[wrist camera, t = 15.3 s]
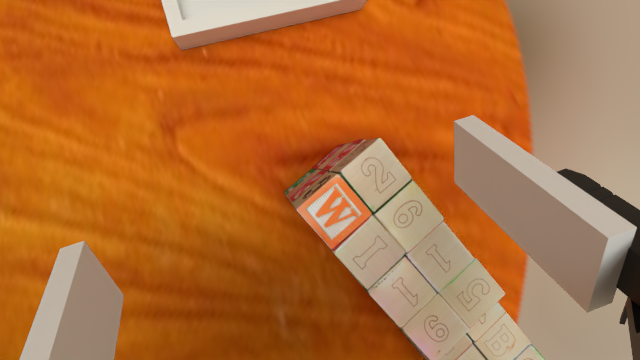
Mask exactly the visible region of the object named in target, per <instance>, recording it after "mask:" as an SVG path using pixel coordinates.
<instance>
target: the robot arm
mask: <svg viewBox="0 0 640 360" xmlns="http://www.w3.org/2000/svg"><path fill="white" fill-rule="evenodd" d="M454 176H455V183H456V184H457V185H458V186H459V187H460V188H461V189H462V190H463V191H464V192H465V193H466V194H467V195H468V196H469V197H470V198H471V199H472V200H473V201H474V202H475V203H476V204H477V205H478V206H479V207H480V208H481V209H482V210H483V211H484V212H485V213H486V214H487V215H488V216H489V217H490V218H491V219H492V220H493V221H494V222H495V223H496V224H497V225H498V226H499V227H501V228H502V229H503V230H504V231H505V232H506V233H507V234H508V235H509V236H510V237H511V238H512V239H513V240H514V241H515V242H516V243H517V244H518V245H519V246H520V247H521V248H522V249H523V250H524V251H525V252H526V253H527V254H528V255H529V256H530V257H531V258H532V259H533V260H534V261H535V262H536V263H537V264H538V265H539V266H540V267H541V268H543V270H544V271H545V272H546V273H547V274H548V275H549V276H550V277H552V278H553V279H554V280H555V281H556V282H557V283H558V284H559V285H560V286H561V287H562V288H563V289H564V290H565V291H566V292H567V293H568V294H569V295H570V296H571V297H572V298H573V299H574V300H575V301H576V302H577V303H578V304H579V305H580V306H581V307H582V308H583V309H584V310H585V311H586V312H590V311H592V310H594V309H597V308H600V307H602V306H605V305H607V304H610V303H612V301H613V298H614V295H615V292H616V289H617V288H618V289H619V290H621V291H622V292H623V293H624V294H626V295H627V296H628V298H627V301H626V304H625V307H624V309H623V312H622V315H621V318H620V324H625V322H626V319H627V318H628V325H629V332H630V340H631V347H632V355H633V360H640V210H639V209H637V208H635V207H634V206H632V205H631V204H629V203H628V202H626V201H625V200H623V199H622V198H620V197H618V196H617V195H613V193H612V192H611V191H609V190H608V189H606V188H604V187H601V186H600V184H598V183H597V182H595V181H594V180H592V179H590V178H589V177H587V176H586V175H584V174H581V173H578V172H574V171H572V170H568V169H564V170H561V171H558V172H556V171H554V170H553V169H551V168H550V167H548V166H547V165H545V164H544V163H542V162H541V161H540V160H538V159H537V158H535V157H534V156H532V155H531V154H529V153H528V152H526V151H525V150H523V149H522V148H521V147H519V146H518V145H516V144H515V143H513V142H512V141H510V140H509V139H507V138H506V137H505V136H503V135H502V134H500V133H499V132H497V131H496V130H494V129H493V128H491V127H490V126H489V125H487V124H486V123H484V122H483V121H481V120H480V119H478V118H477V117H475V116H474V115H472V116H469V117H466V118H463V119H460V120H457V121H454ZM123 298H124V295H123V294H122V292H121V291H120V289H119V288H118V287H117V285H116V284H115V282H114V281H113V280H112V278H111V277H110V276H109V274H108V273H107V271H106V270H105V269H104V267H103V266H102V264H101V263H100V262H99V260H98V259H97V258H96V256H95V255H94V253H93V252H92V251H91V249H90V248H89V246H88V245H87V244H86V242H85V241H82V242H79V243H76V244H73V245H70V246H67V247H64V248H61V249H60V251H59V253H58V256H57V259H56V261H55V264H54V267H53V270H52V272H51V275H50V278H49V281H48V283H47V286H46V289H45V291H44V294H43V297H42V300H41V302H40V305H39V308H38V311H37V313H36V316H35V319H34V322H33V324H32V327H31V330H30V332H29V335H28V338H27V341H26V343H25V346H24V349H23V352H22V354H21V357H20V360H114V357H115V350H116V344H117V337H118V331H119V324H120V318H121V311H122V305H123Z"/></svg>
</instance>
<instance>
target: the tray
mask: <svg viewBox="0 0 640 360" xmlns="http://www.w3.org/2000/svg"><path fill="white" fill-rule="evenodd" d="M161 1H162V4H163V8H164V11H165V15H166V18H167V21H168V25H169V28H170V32H171V35H172V38H173V39H174V41H175V42H176V44H177V45H178V47H179V48H180V50H185V49H190V48H194V47H199V46H203V45H207V44H212V43H216V42H221V41H225V40H229V39H234V38H238V37H243V36H247V35H251V34H256V33H260V32H265V31H269V30H273V29H278V28H282V27H287V26H291V25H295V24H300V23H304V22H309V21H313V20H317V19H322V18H326V17H331V16H335V15H339V14H344V13H348V12H353V11H357V10H361V9H362V7H363V6H364V4H365V3H366V2H367V0H161Z"/></svg>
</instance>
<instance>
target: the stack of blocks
mask: <svg viewBox="0 0 640 360" xmlns="http://www.w3.org/2000/svg"><path fill="white" fill-rule="evenodd" d="M285 195H286V196H287V198H288V199H289V200H290V202H291V203H292V204H293V206H294V207H295V209H296V210H297V211H298V213H299V214H300V215H301V216H302V217H303V218H304V219H305V221H306V222H307V223H308V224H309V225H310V226H311V227H312V228H313V229H314V231H315V232H316V233H317V234H318V235H319V236H320V238H321V239H322V240H323V241H324V242H325V243H326V244H327V246H328V247H329V248H330V250H331V251H332V252H333V253H334V254H335V255H336V257H337V258H338V259H339V260H340V261H341V262H342V263H343V264H344V265H345V266H346V268H347V269H348V270H349V271H350V273H351V274H352V275H353V276H354V277H355V279H356V280H357V281H358V282H359V283H360V284H361V285H362V287H363V288H364V289H365V290H366V291H367V292H368V294H369V295H370V296H371V297H372V298H373V299H374V301H375V302H376V303H377V304H378V305H379V306H380V307H381V308H382V309H383V310H384V311H385V313H386V314H387V315H388V316H389V317H390V318H391V319H392V320H393V321H394V322H395V323H396V325H397V326H398V327H399V329H400V330H401V331H402V332H403V333H404V334H405V336H406V337H407V338H408V339H409V340H410V342H411V343H412V344H413V345H414V346H415V347H416V349H417V350H418V351H419V352H420V353H421V354H422V356H423V357H424V358H425V359H426V360H545V359H544V358H543V357H542V356H541V355H540V353H539V352H538V351H537V350H536V349H535V348H534V346H533V345H532V344H531V342H530V340H529V339H528V338H527V336H526V335H525V334H524V333H523V332H522V331H521V329H520V328H519V327H518V326H517V324H516V323H515V322H514V321H513V320H512V318H511V317H510V316H509V315H508V314H507V313H506V312H505V310H504V308H503V307H502V306H501V305H500V303H499V302H498V301H499V300H500V299H501V298H503V296H504V295H505V292H504V291H503V290H502V288H501V287H500V286H499V285H498V284H497V283H496V281H495V280H494V279H493V278H492V277H491V275H490V274H489V273H488V272H487V270H486V269H485V268H484V267H483V266H482V264H481V263H480V262H479V261H478V260H477V259H476V258H474V257H473V256H472V254H471V253H470V252H469V250H468V249H467V248H466V247H465V246H464V244H463V243H462V242H461V241H460V240H459V238H458V237H457V236H456V235H455V233H454V232H453V231H452V230H451V229H450V227H449V226H448V225H447V224H446V223H445V222H444V218H443V216H442V215H441V213H440V212H439V211H438V210H437V208H436V207H435V206H434V205H433V204H432V202H431V201H430V200H429V199H428V197H427V196H426V195H425V194H424V192H423V191H422V190H421V189H420V187H419V186H418V185H417V184H416V183H415V182H414V181H413V180H412V179H411V175H410V174H409V173H408V171H407V170H406V169H405V168H404V166H403V165H402V164H401V163H400V161H399V160H398V159H397V157H396V156H395V155H394V154H393V152H392V151H391V150H390V149H389V147H388V146H387V145H386V144H385V142H384V141H383V140H382V139H381V138H375V139H370V140H367V141H366V140H365V139H361V140H356V141H354V142H352V143H348V144H342V145H338V146H337V147H336V148H335V149H334V150H332V151H331V152H330V153H329V154H328V155H326V156H325V157H324V158H323V159H322V160H321V161H319V162H318V163H317V164H316V165H315V166H314V167H313V168H312V169H311V170H310V171H309V172H307V173H306V174H305V175H304V176H303V177H302V178H300V179H299V180H298V181H297V182H296V183H294V184H293V185H292V186H291V187H290V188H288V189H287V190H286V191H285Z"/></svg>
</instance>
